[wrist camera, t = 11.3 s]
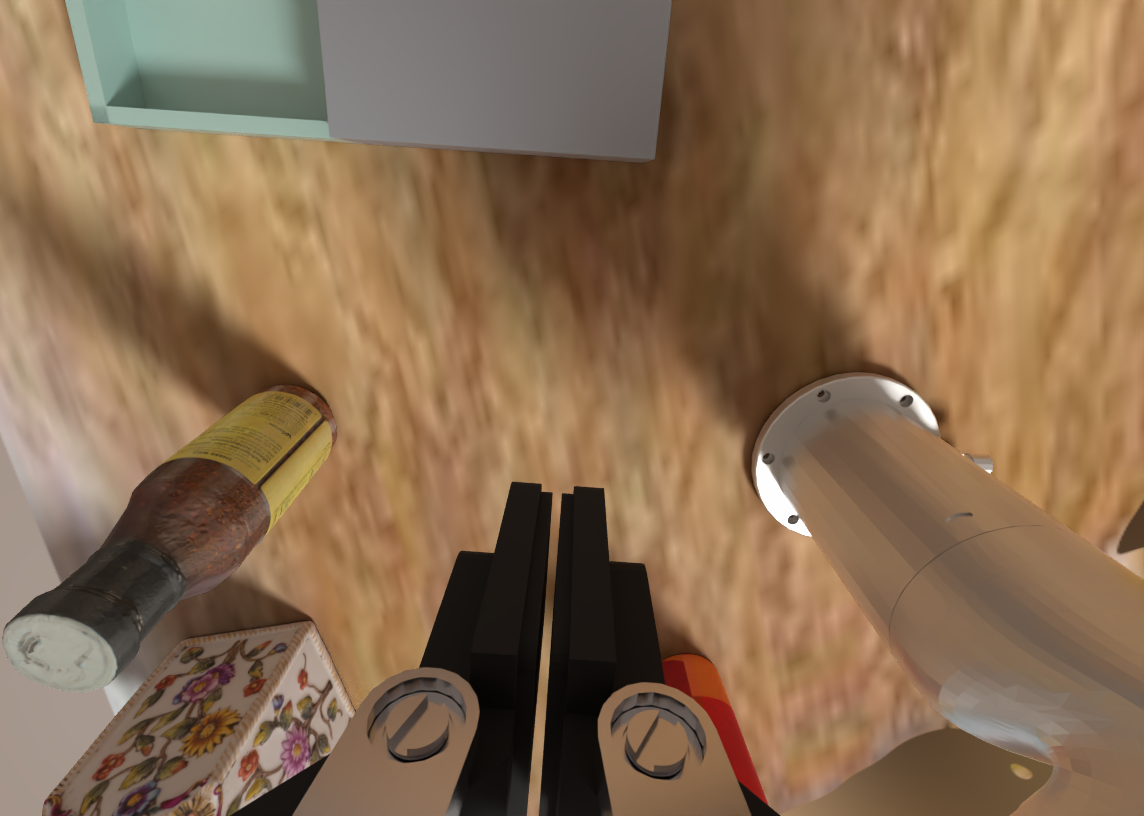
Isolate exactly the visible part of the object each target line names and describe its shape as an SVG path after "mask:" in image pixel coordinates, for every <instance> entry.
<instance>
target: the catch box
mask: <svg viewBox="0 0 1144 816" xmlns="http://www.w3.org/2000/svg"><path fill="white" fill-rule="evenodd" d="M65 2H66V6H67V11H68V15H69V19H70V23H71V28H72V32H73V36H74V40H75V45H76V49H77V53H78V57H79V62H80V66H81V70H82V74H83V79H84V83H85V87H86V91H87V96H88V100H89V104H90V108H91V113H92V117H93V121H94V123H101V124H109V125H116V126H124V127H132V128H140V129H151V130H166V131H181V132H195V133H210V134H225V135H239V136H254V137H269V138H284V139H298V140H313V141H328V142H342V143H357V142H352V141H347V140H342V139H336V138H331V137H329V126H328V115H327V104H326V94H325V83H324V72H323V61H322V50H321V40H320V29H319V18H318V7H317V0H65ZM357 144H362V143H357Z"/></svg>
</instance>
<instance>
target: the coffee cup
mask: <svg viewBox="0 0 1144 816" xmlns="http://www.w3.org/2000/svg"><path fill="white" fill-rule="evenodd" d="M662 667H663V673H664V679H665V685H666V686H669V687H672V688H675V689H678V690H680V691H681V692H683V693H684V694H686V695H688V696H689V697H691V698H693V699H694V700H695V701H696V702H697V703H698V704H699V705H700V706H701V707H702V708H703V709H704V710H705V711H706V712H707V714H708V716H709V717H710V719H711V721H712V722H713V724H714V726H715V728H716V730H717V732H718V734H719V737H720V739H721V742H722V744H723V747H724V749H725V752H726V754H727V756H728V759H729V761H730V764H731V766H732V769H733V771H734V774H735V776H736V778H737V780H738V781H740V782H741V783H742V784H743V785H744V786H746V787H747V788H748V789H749V790H750V791H751V792H753V793H754V794H755V795H756V796H757V797H759V798H760V799H761V800H762V801H763V802H765V803H766V804H767V805H768V803H767V800H766V797H765V795H764V792H763V789H762V787H761V784H760V781H759V779H758V776H757V773H756V770H755V768H754V765H753V762H752V760H751V757H750V754H749V752H748V749H747V746H746V744H745V741H744V738H743V736H742V733H741V730H740V728H739V725H738V722H737V720H736V717H735V714H734V712H733V709H732V707H731V704H730V701H729V699H728V696H727V694H726V691H725V688H724V686H723V683H722V681H721V678H720V676H719V674H718V672H717V670H716V668H715V666H714V665H713V664H712V663H711V662H710V661H709V660H707V659H706V658H704V657H702V656H699V655H695V654H678V655H673V656H670V657H668V658H666V659H664V660H662ZM768 806H769V805H768Z"/></svg>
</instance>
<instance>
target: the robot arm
mask: <svg viewBox="0 0 1144 816" xmlns="http://www.w3.org/2000/svg"><path fill="white" fill-rule="evenodd" d="M821 391H822V392H821ZM819 392H821V393H820V394H819ZM818 394H819V395H818ZM766 453H767V454H766ZM765 454H766V455H765ZM763 455H764V456H763ZM992 470H993V462H992V459H991V458H990V457H989V456H988V455H983V454H963V453H961V452H960V451H958V450H957V449H955V448H954V447H952V446H951V445H950V444H948V443H947V442H945V441H944V440H942V439H941V438H940V431H939V427H938V424H937V420H936V417H935V415H934V414H933V412H932V410H931V408H930V407H929V405H928V404H927V403H926V402H925V401H924V400H923V398H922V397H921V396H920V395H919V394H918V393H916V392H915V391H913V390H912V389H910V388H909V387H907V386H906V385H904V384H902V383H900V382H898V381H896V380H894V379H892V378H890V377H886V376H883V375H879V374H875V373H863V372H852V373H844V374H837V375H833V376H830V377H826V378H823V379H820V380H817V381H815V382H813V383H811V384H809V385H807V386H805V387H803V388H801V389H800V390H798V391H797V392H795V393H794V394H793V395H791V396H790V397H788V398H787V399H786V400H785V401H784V402H783V403H782V404H781V405H780V406H779V407H778V408H777V409H776V410H775V411H774V412H773V413H772V414H771V416H770V417H769V418H768V420H767V421H766V423H765V424H764V425H763V427H762V429H761V431H760V434H759V436H758V438H757V440H756V443H755V447H754V450H753V454H752V468H751V472H752V477H753V483H754V487H755V489H756V491H757V494H758V496H759V498H760V500H761V501H762V503H763V504H764V506H765V508H766V509H767V511H768V512H769V513H770V514H771V515H772V516H773V517H774V518H775V519H776V520H777V521H778V522H779V523H781V524H782V525H783V526H785V527H786V528H788V529H790V530H793V531H795V532H797V533H800V534H802V535H806V536H811V537H812V538H813V539H814V541H815V542H816V544H817V545H818V546H819V548H820V549H821V551H822V552H823V554H824V555H825V557H826V558H827V560H828V561H829V563H830V564H831V566H832V567H833V568H834V570H835V571H836V573H837V574H838V576H839V577H840V579H841V580H842V582H843V583H844V585H845V586H846V588H847V589H848V591H849V592H850V593H851V595H852V596H853V598H854V599H855V601H856V602H857V604H858V605H859V607H860V608H861V610H862V611H863V613H864V614H865V615H866V617H867V618H868V620H869V621H870V623H871V624H872V626H873V627H874V629H875V630H876V632H877V633H878V635H879V636H880V637H881V639H882V640H883V642H884V643H885V645H886V646H887V648H888V649H889V651H890V652H891V654H892V655H893V657H894V658H895V660H896V661H897V662H898V663H899V665H900V666H901V668H902V669H903V671H904V672H905V674H906V675H907V676H908V678H909V679H910V681H911V682H912V684H913V685H914V686H915V687H916V689H917V690H918V691H919V692H920V694H921V695H922V696H923V697H924V698H925V700H927V701H928V702H929V703H930V704H931V705H932V706H933V707H934V708H935V709H936V710H937V711H938V712H939V713H940V714H941V715H943V716H944V717H945V718H947V719H948V720H949V721H951V722H952V723H953V724H955V725H956V726H958V727H959V728H961V729H963V730H965V731H966V732H968V733H970V734H972V735H974V736H976V737H978V738H980V739H982V740H984V741H986V742H988V743H991V744H993V745H995V746H998V747H1001V748H1003V749H1005V750H1008V751H1011V752H1013V753H1016V754H1019V755H1023V756H1025V757H1028V758H1031V759H1034V760H1037V761H1040V762H1044V763H1047V764H1050V765H1053V766H1054V769H1053V772H1052V776H1051V777H1050V779H1049V780H1048V781H1047V783H1046V784H1045V785H1044V786H1043V787H1042V788H1040V789H1039V790H1038V791H1037V792H1036V793H1034V794H1033V795H1032V796H1031V797H1029V798H1028V799H1027V800H1026V801H1024V802H1023V803H1022V804H1021V805H1020V806H1019V808H1018V810H1016V811H1015V812H1014V813H1012V814H1011V815H1009V816H1144V579H1143V578H1141V577H1140V576H1138V575H1136V574H1135V573H1133V572H1132V571H1131V570H1129V569H1128V568H1126V567H1125V566H1123V565H1122V564H1120V563H1119V562H1117V561H1116V560H1114V559H1113V558H1111V557H1110V556H1108V555H1107V554H1106V553H1104V552H1103V551H1101V550H1100V549H1098V548H1097V547H1095V546H1094V545H1093V544H1091V543H1090V542H1088V541H1087V540H1085V539H1084V538H1082V537H1081V536H1079V535H1078V534H1076V533H1075V532H1073V531H1072V530H1071V529H1069V528H1068V527H1066V526H1065V525H1063V524H1062V523H1060V522H1059V521H1058V520H1056V519H1055V518H1053V517H1052V516H1050V515H1049V514H1047V513H1046V512H1045V511H1043V510H1042V509H1040V508H1039V507H1037V506H1036V505H1034V504H1033V503H1032V502H1030V501H1029V500H1027V499H1026V498H1024V497H1023V496H1021V495H1020V494H1019V493H1017V492H1016V491H1014V490H1013V489H1011V488H1010V487H1008V486H1007V485H1006V484H1004V483H1003V482H1001V481H1000V480H998V479H997V478H995V477H994V476H993V475H991V474H990V473H991V471H992ZM541 490H542V484H536V483H522V482H512V483H511V486H510V491H509V495H508V499H507V503H506V507H505V511H504V515H503V519H502V523H501V528H500V532H499V536H498V540H497V544H496V548H495V552H494V553H485V552H471V551H460V552H459V554H458V556H457V559H456V562H455V565H454V568H453V570H452V573H451V576H450V579H449V582H448V585H447V588H446V591H445V594H444V597H443V600H442V603H441V606H440V608H439V611H438V614H437V617H436V620H435V623H434V626H433V629H432V632H431V635H430V638H429V641H428V643H427V646H426V649H425V652H424V655H423V658H422V661H421V664H420V667H419V668H417V669H412V670H406V671H404V672H401V673H399V674H397V675H394V676H392V677H390V678H388V679H386V680H385V681H384V682H382V683H381V684H380V685H378V686H377V687H375V688H374V689H373V690H372V691H371V692H370V693H369V695H368V696H367V697H366V698H365V699H364V701H363V702H362V703H361V704H360V706H359V708H358V709H357V711H356V712H355V714H354V716H353V717H352V719H351V721H350V722H349V724H348V726H347V727H346V729H345V730H344V732H343V734H342V735H341V737H340V739H339V740H338V742H337V743H336V745H335V747H334V748H333V750H332V752H331V753H330V754H328V755H327V756H325V757H324V758H322V759H320V760H319V761H317V762H315V763H314V764H312V765H311V766H309V767H307V768H306V769H304V770H303V771H301V772H299V773H298V774H296V775H294V776H293V777H291V778H290V779H288V780H286V781H285V782H283V783H281V784H280V785H278V786H277V787H275V788H273V789H272V790H270V791H269V792H267V793H265V794H264V795H262V796H260V797H259V798H257V799H256V800H254V801H252V802H251V803H249V804H247V805H246V806H244V807H243V808H241V809H239V810H238V811H236V812H235V813H233V814H231V815H230V816H527V805H528V794H529V783H530V772H531V760H532V749H533V738H534V727H535V716H536V704H537V693H538V682H539V671H540V660H541V649H542V637H543V626H544V613H545V598H546V584H547V569H548V554H549V539H550V524H551V510H552V494H553V493H551V492H541ZM539 816H780V815H779V814H778V813H776V812H775V811H774V810H773V809H772V808H770V807H769V806H768V805H767V804H766V803H765V802H763V801H762V800H761V799H760V798H759V797H757V796H756V795H755V794H754V793H753V792H751V791H750V790H749V789H748V788H747V787H746V786H744V785H743V784H742V783H741V782H740V781H738V780H737V778H736V776H735V774H734V771H733V769H732V766H731V764H730V761H729V759H728V756H727V754H726V752H725V749H724V747H723V744H722V742H721V739H720V737H719V734H718V732H717V730H716V728H715V726H714V724H713V722H712V721H711V719H710V717H709V716H708V714H707V712H706V711H705V710H704V709H703V708H702V707H701V706H700V705H699V704H698V703H697V702H696V701H695V700H694V699H693V698H691V697H689V696H688V695H686V694H684V693H683V692H681V691H680V690H678V689H675V688H672V687H669V686H666V685H665V679H664V673H663V667H662V661H661V655H660V649H659V643H658V637H657V631H656V625H655V619H654V613H653V607H652V601H651V595H650V590H649V584H648V578H647V572H646V568H645V565H644V564H641V563H627V562H613V561H609V550H608V537H607V523H606V509H605V495H604V488H592V487H578V486H574V493H573V494H565V493H562V501H561V514H560V528H559V541H558V554H557V568H556V581H555V595H554V608H553V622H552V636H551V650H550V665H549V679H548V693H547V708H546V722H545V736H544V751H543V765H542V780H541V794H540V808H539Z"/></svg>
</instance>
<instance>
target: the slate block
mask: <svg viewBox="0 0 1144 816" xmlns="http://www.w3.org/2000/svg"><path fill="white" fill-rule="evenodd" d="M671 5H672V0H317V7H318V18H319V29H320V40H321V50H322V61H323V72H324V83H325V94H326V104H327V115H328V126H329V137H331V138H336V139H342V140H347V141H352V142H357V143H362V144H372V145H387V146H401V147H416V148H431V149H446V150H460V151H475V152H490V153H504V154H519V155H534V156H549V157H563V158H578V159H593V160H607V161H622V162H637V163H644V162H648V161H651V160H654V159H655V153H656V144H657V135H658V126H659V116H660V107H661V98H662V89H663V79H664V70H665V61H666V52H667V42H668V33H669V24H670V15H671Z"/></svg>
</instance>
